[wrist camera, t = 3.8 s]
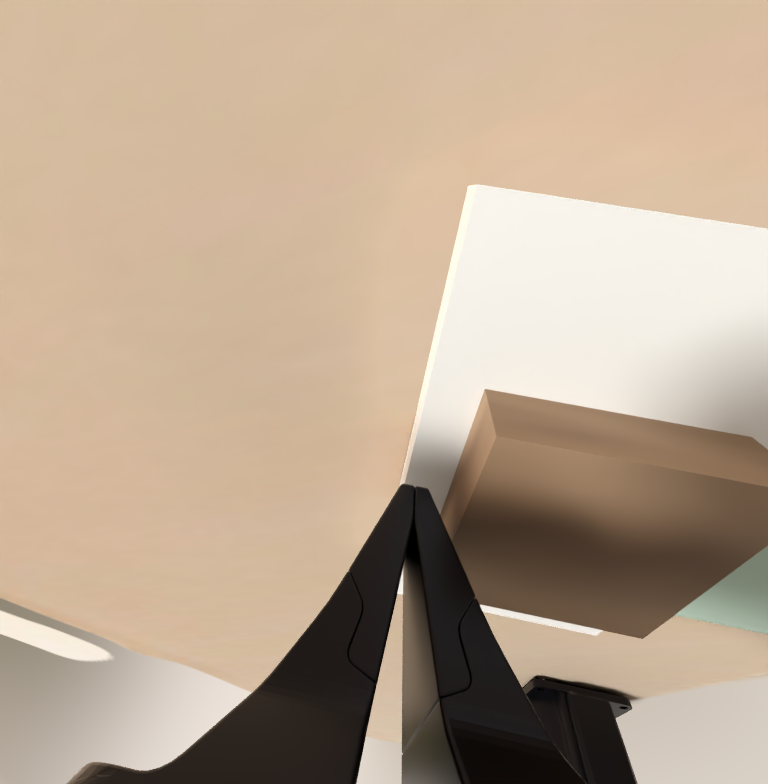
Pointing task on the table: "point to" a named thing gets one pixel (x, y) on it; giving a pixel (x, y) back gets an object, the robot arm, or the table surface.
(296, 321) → the table surface
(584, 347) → the plate
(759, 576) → the mat
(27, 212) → the table surface
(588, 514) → the tile
